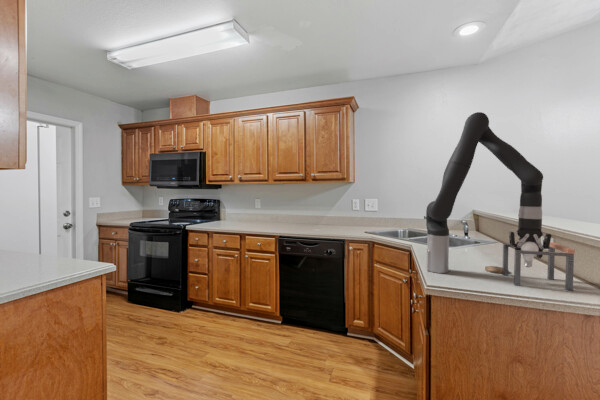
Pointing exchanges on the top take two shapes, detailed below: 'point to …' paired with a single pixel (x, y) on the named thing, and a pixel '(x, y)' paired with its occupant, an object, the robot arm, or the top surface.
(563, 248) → the bar
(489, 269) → the pad
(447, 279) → the top surface
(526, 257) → the lightbulb
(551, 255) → the frame
